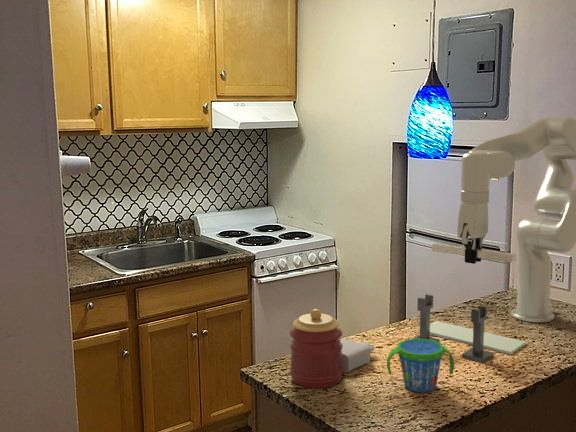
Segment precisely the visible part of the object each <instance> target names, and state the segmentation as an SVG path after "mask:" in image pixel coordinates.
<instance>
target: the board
mask: <svg viewBox="0 0 576 432" xmlns="http://www.w3.org/2000/svg"><path fill="white" fill-rule="evenodd" d="M418 332H419V333H420V328H419V329H418ZM430 336H434V337H437V338H438V337H439V338H442V339H445V340H450V339H451V340H450V341H454V342H459V343H462V342H463V343H462V344H466V345H470V346H473V329H472V328H468V327H464V326H459V325H455V324H451V323H447V322H443V321H438V320H435V321H433V322H430ZM526 344H527V342H526V341H524V340H520V339H516V338H511V337H507V336H503V335H499V334H494V333H490V332H486V331H484V342H483V349H486V350H490V351H494V352H499V353H502V354H507V355H513V354H514V353H515V352H517V351H519V350H520V349H521V348H523V347H524V346H525V345H526Z"/></svg>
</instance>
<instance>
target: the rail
mask: <svg viewBox="0 0 576 432" xmlns="http://www.w3.org/2000/svg"><path fill="white" fill-rule="evenodd" d="M431 248H432V249H431V250H432V252H436V253H442V254H449V255H458V256H464V257H465V249H464V246H460V245H452V244H445V243H438V242H436V243H433V244H432V246H431ZM475 250H476V258H481V259H484V260H492V261H498V262H506V263H512V264H513V263H514V262H516V261H517V253H512V252H505V251H498V250H497V251H496V250H489V249H483V248H482V249H476V248H475Z"/></svg>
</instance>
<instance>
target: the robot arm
mask: <svg viewBox="0 0 576 432" xmlns="http://www.w3.org/2000/svg"><path fill="white" fill-rule="evenodd" d="M539 152H542V155H543V158H544V159H543V160H544V164H545V175H544V177H543V180H542V182H541V184H540V186H539V189H538V192H537V194H536V197H535V198H534V202H533V210H534V213H535V214H537V215H538V216H540V217H535V216H534V217H533V216H532V217H531V216H530V217H526V218H523V219H522V220H521V221H520V222H519V223H518V225H517V227H516V239H517V244H518V245H517V246H518V275H517V295H516V296H517V297H516V301H517V302H516V308H513V309H512V310H511V316H512V317H513V318H515V319H517V320H520V321H523V322H528V323H529V322H530V323H548V322H551V321H553V320H555V314H554V312H552V311H550V305H551V304H552V302H551V299H550V297H551V283H552V281H551V278H552V260H551V257H550V254H549V253H548V252H554V253H559V254H565V253H568V252H569V253H570V252H571V251H572V249H573V248H575V245H576V189H572V186H573V184H574V180H575V177H574V171H573V170H572V168H571V166H570V165H569V163H568V161H567V160H573V161H575V160H576V119H575V118H572V117H568V116H564V117H563V116H561V117H560V116H559V117H558V116H554V117H553V116H549V117H545V116H544V117H539V118H537V119H535V120H533V121H531V122H530V123H529V124H527V125H526V126H524V127H522V128H521V129H519V130H517V131H515V132H513V133H509V134H506V135H503V136H499V137H497V138H494V139H489V140H486V141H484V142H482V143H479V144H478V145H477V146H475V147H474V148H472V149H471V150H469V151H468V152H466V153H464V154H463V155H462V158H461V176H460V178H461V179H460V180H461V181H460V183H461V184H460V205H459V211H458V218H457V231H456V232H457V233H456V235H457V237H458V238H461V239H460V242H461V243H462V244H463V247H464V249H465V256H464V262H465V263H466V264H467V263H468V264H472V265H474V264H477V262H478V263H479V262H481V261H482V258H476V250H475V248H476V249H483V241H484V238H485V237H486V235H487V234H488V231H489V207H488V206H489V205H488V204H489V203H490V180H491V179H490V178H496V179H498V178H500V179H503V178H506V177H509V176H511V174H512V173H513V172H514V170H515V168H516V162H517V161H522V160H527V159H530V158H531V157H533V156H535V155H537V154H538V153H539Z"/></svg>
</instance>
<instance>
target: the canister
mask: <svg viewBox="0 0 576 432" xmlns="http://www.w3.org/2000/svg"><path fill="white" fill-rule="evenodd" d="M292 326H293V327H292V328H291V329H290V330H289V336H290V337H291V342H290V344H289V348H290V368H289V371H290V372H289V374H290V378H291V380H292V381H293V383H295V384H297V385H299V386H301V387H304V388H309V389H310V388H311V389H321V388H328V387H329V388H330V387H331V386H335V385H337V384H339V383H340V382H341V381H342V378H343V374H344V373H343V372H344V371H343V368H342V347H343V345H342V343H341V341H342V340H341V338H342V336H343V330H342V329H341V328H340V327H339V326H340V322H339V320H337V319H336V318H334V317H333V316H332V315H330V314H326V313H322V312H321V310H320V309H318V308H313V309H312V310H311V312H310V313H305V314H302V315H300V316H299V317H298V318H296V319H295V320H293V322H292Z"/></svg>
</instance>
